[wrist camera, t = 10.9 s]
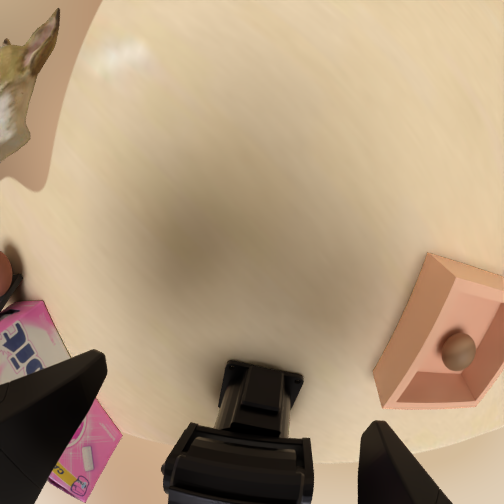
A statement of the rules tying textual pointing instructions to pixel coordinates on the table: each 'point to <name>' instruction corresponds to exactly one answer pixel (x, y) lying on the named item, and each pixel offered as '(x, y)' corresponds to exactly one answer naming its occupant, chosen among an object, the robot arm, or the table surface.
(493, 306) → the dish
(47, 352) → the gum box
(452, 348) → the ball
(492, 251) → the table surface
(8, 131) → the ceramic sculpture
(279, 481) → the robot arm
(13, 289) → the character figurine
